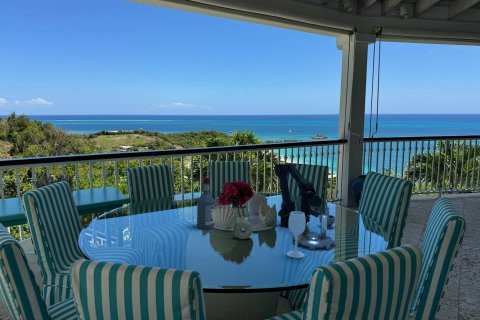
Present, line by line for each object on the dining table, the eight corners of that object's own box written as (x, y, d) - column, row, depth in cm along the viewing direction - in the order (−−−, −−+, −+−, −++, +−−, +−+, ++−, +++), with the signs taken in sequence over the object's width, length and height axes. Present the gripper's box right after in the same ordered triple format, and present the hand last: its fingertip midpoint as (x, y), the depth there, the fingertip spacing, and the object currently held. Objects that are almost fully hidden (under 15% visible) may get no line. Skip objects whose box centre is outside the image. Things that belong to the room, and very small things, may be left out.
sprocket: (311, 252, 187) (312, 225, 185) (283, 239, 206) (284, 214, 205) (344, 245, 198) (345, 220, 197) (315, 233, 218) (316, 210, 217)
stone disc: (233, 239, 206) (233, 221, 205) (233, 237, 209) (234, 219, 208) (252, 240, 205) (252, 222, 204) (252, 238, 209) (253, 220, 208)
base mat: (311, 253, 187) (311, 252, 187) (283, 240, 206) (283, 239, 206) (343, 246, 199) (343, 246, 199) (315, 234, 218) (315, 234, 218)
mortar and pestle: (335, 230, 229) (336, 210, 228) (319, 228, 230) (320, 209, 229) (333, 225, 240) (334, 206, 239) (318, 224, 242) (319, 205, 240)
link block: (299, 232, 219) (299, 225, 219) (299, 230, 223) (300, 223, 222) (308, 232, 218) (308, 226, 218) (308, 231, 222) (308, 224, 221)
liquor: (194, 227, 224) (195, 178, 221) (203, 224, 232) (204, 176, 229) (207, 230, 220) (208, 179, 217) (215, 226, 228) (217, 177, 225)
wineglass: (284, 251, 188) (286, 210, 186) (302, 251, 189) (304, 210, 187) (288, 258, 179) (290, 215, 177) (306, 258, 180) (308, 215, 178)
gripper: (319, 208, 208) (317, 235, 210) (319, 201, 226) (318, 226, 228) (299, 206, 210) (297, 234, 212) (301, 200, 228) (299, 225, 230)
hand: (304, 229), depth 220 cm, fingers closed on link block, 4 cm apart
